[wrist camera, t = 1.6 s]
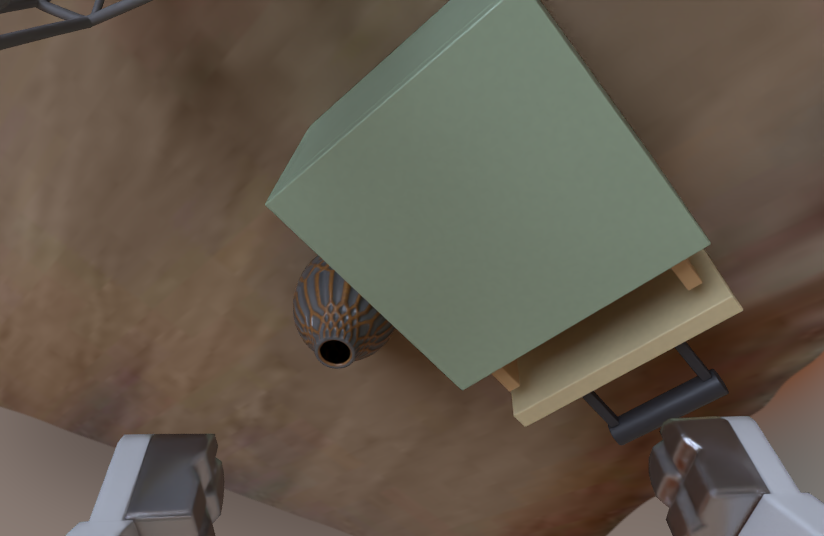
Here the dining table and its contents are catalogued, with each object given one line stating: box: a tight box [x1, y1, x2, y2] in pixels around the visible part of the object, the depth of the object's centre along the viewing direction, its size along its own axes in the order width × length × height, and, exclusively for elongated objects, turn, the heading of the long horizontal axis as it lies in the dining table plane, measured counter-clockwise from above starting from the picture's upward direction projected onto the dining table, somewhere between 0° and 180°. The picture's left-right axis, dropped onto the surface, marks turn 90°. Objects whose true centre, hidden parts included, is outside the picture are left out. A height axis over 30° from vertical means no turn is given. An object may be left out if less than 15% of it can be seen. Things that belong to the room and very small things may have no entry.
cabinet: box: [265, 0, 711, 390], centre depth 34 cm, size 15×15×11 cm
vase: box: [293, 255, 395, 369], centre depth 41 cm, size 7×7×9 cm
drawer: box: [492, 249, 743, 445], centre depth 38 cm, size 19×14×9 cm
